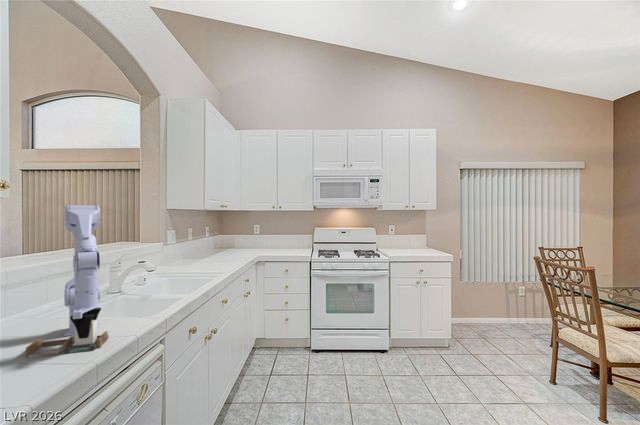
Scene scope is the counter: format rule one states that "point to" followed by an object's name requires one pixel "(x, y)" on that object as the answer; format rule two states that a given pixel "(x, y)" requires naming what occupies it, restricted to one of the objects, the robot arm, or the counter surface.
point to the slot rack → (66, 346)
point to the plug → (91, 337)
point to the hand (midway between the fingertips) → (86, 335)
